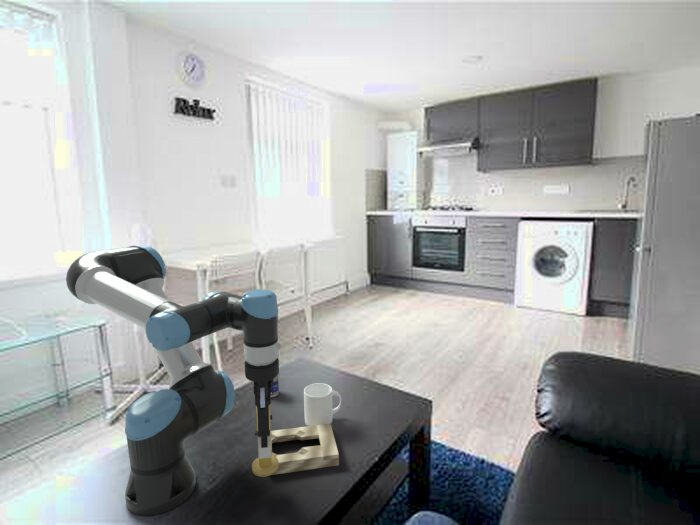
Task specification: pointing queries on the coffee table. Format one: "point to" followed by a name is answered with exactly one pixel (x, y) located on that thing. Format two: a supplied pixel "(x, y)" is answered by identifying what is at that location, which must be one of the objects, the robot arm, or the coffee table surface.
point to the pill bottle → (274, 387)
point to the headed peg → (265, 461)
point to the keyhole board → (306, 449)
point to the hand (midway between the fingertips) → (264, 451)
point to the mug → (319, 404)
